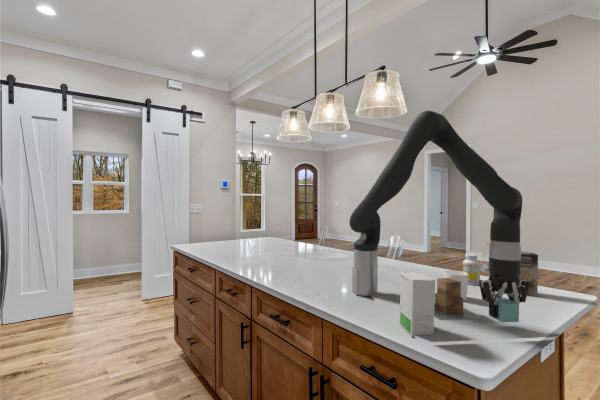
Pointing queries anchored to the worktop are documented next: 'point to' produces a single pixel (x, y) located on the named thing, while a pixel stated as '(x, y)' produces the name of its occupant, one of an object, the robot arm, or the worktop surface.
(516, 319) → the teal cube
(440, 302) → the tower bottom
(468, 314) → the pale flat pad
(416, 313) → the skincare box
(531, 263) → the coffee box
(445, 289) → the block
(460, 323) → the worktop surface
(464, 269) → the supplement bottle
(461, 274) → the white cup
